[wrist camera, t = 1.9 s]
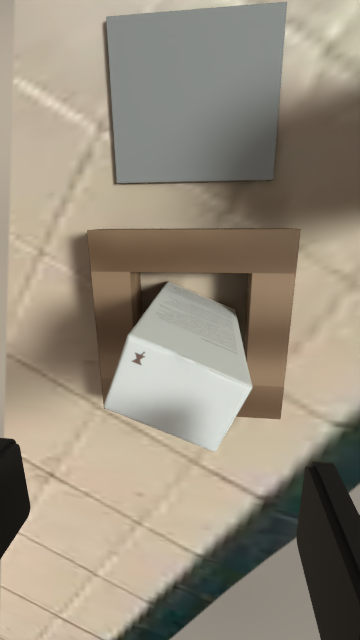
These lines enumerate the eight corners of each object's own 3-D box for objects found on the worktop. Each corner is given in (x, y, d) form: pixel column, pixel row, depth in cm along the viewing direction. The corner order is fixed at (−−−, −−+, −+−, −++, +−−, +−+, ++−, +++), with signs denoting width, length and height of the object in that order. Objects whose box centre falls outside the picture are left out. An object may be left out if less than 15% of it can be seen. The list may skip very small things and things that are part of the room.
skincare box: (149, 326, 26) (97, 408, 15) (167, 279, 25) (125, 330, 13) (216, 354, 26) (215, 457, 15) (238, 309, 25) (256, 385, 13)
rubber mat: (108, 20, 20) (106, 16, 20) (285, 5, 19) (287, 1, 18) (118, 183, 23) (116, 182, 22) (272, 180, 22) (273, 179, 21)
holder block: (102, 229, 24) (87, 230, 21) (290, 228, 22) (300, 229, 20) (115, 389, 28) (104, 408, 25) (273, 398, 27) (280, 419, 24)
